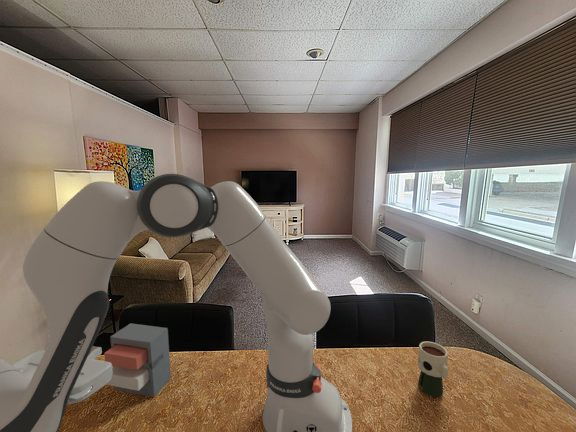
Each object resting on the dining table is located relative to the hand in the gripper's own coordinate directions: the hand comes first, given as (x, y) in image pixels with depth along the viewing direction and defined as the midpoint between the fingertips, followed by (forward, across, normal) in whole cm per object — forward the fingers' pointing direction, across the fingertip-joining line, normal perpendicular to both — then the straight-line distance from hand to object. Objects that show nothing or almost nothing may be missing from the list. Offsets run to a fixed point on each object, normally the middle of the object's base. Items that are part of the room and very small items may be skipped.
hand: (96, 349), depth 60 cm
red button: (+8, 0, +9) cm, 12 cm away
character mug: (+27, -83, +19) cm, 90 cm away
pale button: (+8, 0, +15) cm, 17 cm away
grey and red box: (+13, 0, +20) cm, 24 cm away
